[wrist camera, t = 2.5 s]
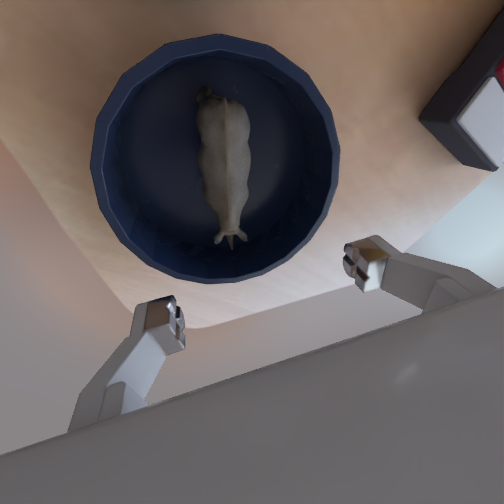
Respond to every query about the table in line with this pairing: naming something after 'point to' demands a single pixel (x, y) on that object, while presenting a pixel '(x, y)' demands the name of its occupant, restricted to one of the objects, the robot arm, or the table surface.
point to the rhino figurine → (224, 159)
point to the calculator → (473, 105)
